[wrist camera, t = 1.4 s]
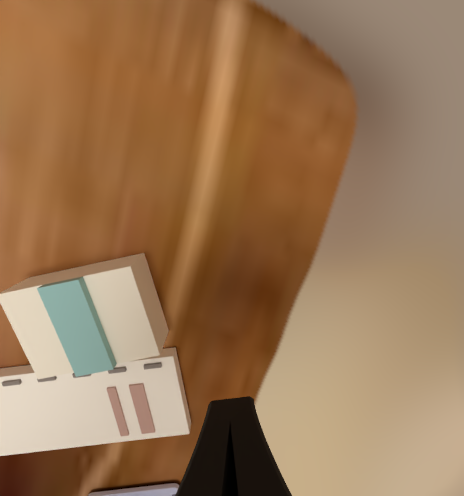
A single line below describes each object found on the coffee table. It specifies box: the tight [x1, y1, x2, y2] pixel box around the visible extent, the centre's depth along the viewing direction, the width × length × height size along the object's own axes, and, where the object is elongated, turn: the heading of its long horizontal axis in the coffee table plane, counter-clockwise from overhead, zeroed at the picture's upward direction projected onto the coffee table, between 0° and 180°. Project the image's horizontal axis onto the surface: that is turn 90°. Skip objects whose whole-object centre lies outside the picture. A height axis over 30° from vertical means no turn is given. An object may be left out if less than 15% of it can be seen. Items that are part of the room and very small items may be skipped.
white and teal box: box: [0, 253, 169, 379], centre depth 17 cm, size 6×8×4 cm
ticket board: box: [0, 347, 191, 456], centre depth 20 cm, size 7×18×1 cm, turn 97°
